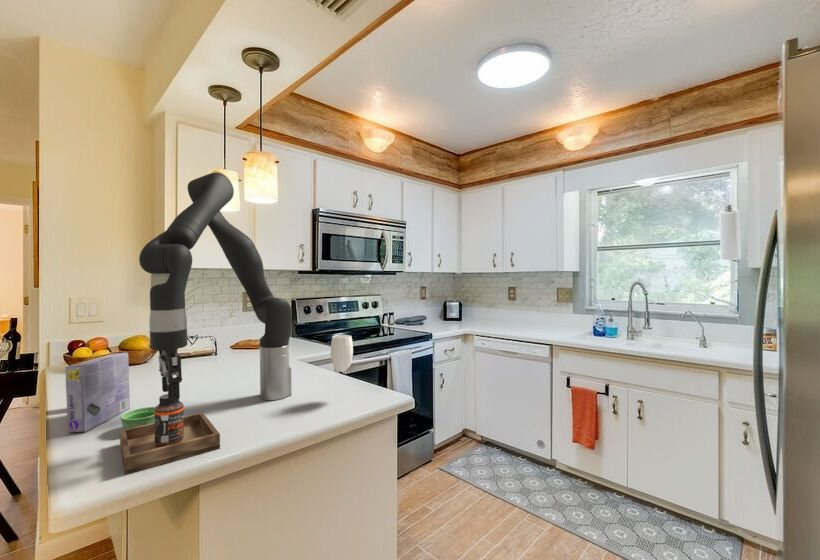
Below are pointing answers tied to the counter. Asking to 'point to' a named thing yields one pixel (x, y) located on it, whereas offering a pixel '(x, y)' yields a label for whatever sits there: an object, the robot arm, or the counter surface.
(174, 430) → the supplement bottle
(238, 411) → the counter surface
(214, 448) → the walnut tray
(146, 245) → the robot arm
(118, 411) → the cake pan box
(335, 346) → the cup
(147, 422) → the ramekin
